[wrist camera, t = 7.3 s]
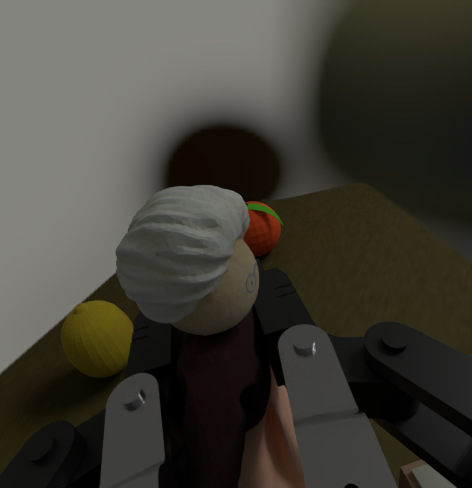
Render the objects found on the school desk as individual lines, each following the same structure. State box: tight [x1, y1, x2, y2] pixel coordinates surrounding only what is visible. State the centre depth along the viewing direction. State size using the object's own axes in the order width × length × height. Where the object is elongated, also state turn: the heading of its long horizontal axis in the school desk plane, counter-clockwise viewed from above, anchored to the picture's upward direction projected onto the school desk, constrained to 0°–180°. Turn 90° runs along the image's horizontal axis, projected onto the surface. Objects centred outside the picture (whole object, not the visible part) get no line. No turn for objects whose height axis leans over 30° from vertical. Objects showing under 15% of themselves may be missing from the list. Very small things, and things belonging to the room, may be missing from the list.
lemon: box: [61, 301, 133, 378], centre depth 26 cm, size 6×6×8 cm
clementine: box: [243, 201, 283, 257], centre depth 37 cm, size 8×7×7 cm
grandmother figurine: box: [116, 185, 306, 488], centre depth 9 cm, size 8×4×13 cm, turn 5°
